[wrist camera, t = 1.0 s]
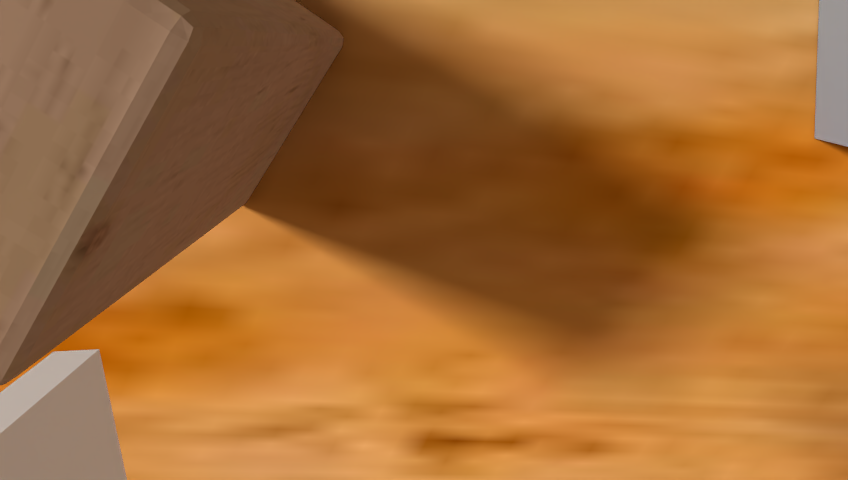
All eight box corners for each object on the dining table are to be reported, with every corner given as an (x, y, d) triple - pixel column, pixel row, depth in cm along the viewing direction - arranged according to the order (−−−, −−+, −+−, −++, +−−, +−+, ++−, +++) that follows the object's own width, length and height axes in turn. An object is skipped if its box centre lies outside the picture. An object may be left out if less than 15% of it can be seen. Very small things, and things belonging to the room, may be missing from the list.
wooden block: (349, 37, 33) (204, 24, 14) (244, 208, 35) (-5, 401, 16) (164, -91, 32) (-281, -302, 12) (68, 95, 34) (-428, 158, 15)
